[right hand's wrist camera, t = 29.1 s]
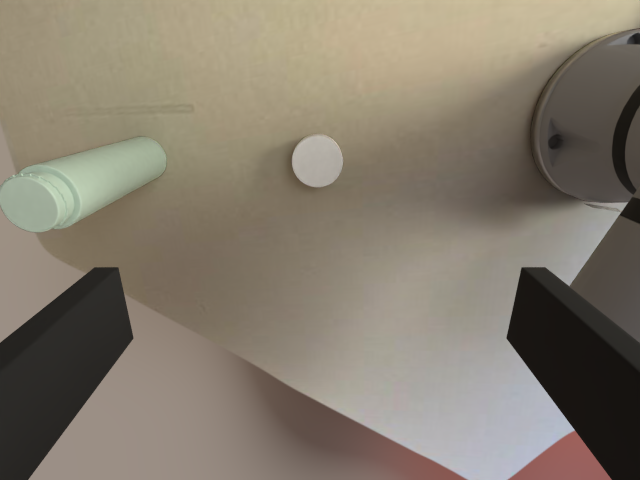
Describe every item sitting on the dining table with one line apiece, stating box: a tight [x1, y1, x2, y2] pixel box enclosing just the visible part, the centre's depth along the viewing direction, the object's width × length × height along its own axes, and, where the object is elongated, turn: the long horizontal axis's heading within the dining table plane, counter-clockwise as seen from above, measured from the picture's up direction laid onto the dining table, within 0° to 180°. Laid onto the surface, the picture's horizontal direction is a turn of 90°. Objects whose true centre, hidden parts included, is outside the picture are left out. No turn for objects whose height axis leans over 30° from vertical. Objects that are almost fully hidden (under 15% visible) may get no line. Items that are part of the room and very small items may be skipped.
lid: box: [292, 134, 343, 187], centre depth 37 cm, size 5×5×2 cm
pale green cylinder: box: [0, 137, 167, 233], centre depth 30 cm, size 4×4×16 cm
